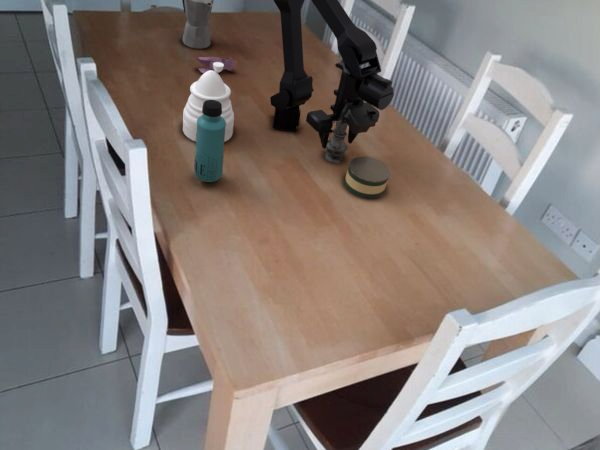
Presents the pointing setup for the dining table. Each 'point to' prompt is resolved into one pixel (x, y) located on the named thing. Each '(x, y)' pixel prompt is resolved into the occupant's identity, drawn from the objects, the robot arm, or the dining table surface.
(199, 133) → the beverage bottle
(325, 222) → the dining table surface
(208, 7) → the coffeepot
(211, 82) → the honey pot
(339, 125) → the grey stone figurine
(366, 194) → the tin
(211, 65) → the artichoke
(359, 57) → the robot arm
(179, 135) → the dining table surface
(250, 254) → the dining table surface
